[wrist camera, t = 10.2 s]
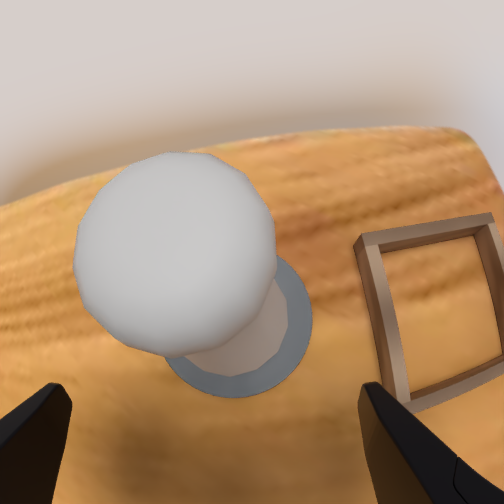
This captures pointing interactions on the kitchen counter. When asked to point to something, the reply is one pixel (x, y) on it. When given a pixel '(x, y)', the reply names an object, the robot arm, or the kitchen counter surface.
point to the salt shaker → (183, 263)
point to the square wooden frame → (383, 314)
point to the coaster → (277, 364)
